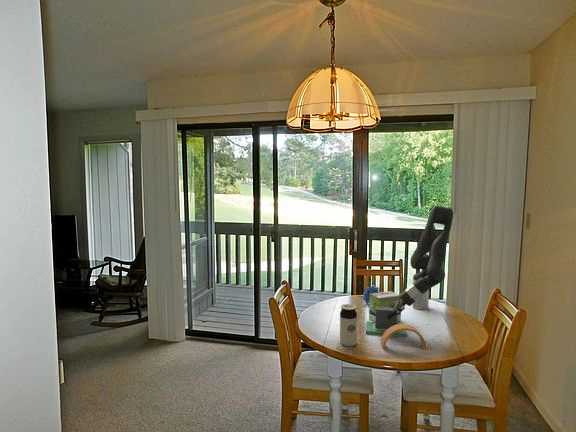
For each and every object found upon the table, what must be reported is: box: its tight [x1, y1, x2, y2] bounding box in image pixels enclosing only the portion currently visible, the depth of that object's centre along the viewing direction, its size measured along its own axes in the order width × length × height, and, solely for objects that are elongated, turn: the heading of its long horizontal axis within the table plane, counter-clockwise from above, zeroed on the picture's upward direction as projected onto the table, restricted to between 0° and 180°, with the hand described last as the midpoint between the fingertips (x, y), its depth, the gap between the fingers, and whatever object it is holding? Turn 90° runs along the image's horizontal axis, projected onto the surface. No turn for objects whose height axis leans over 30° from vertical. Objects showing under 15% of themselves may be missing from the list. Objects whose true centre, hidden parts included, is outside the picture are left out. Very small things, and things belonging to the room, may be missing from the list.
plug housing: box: [375, 307, 398, 329], centre depth 197 cm, size 5×10×10 cm, turn 77°
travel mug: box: [339, 303, 358, 347], centre depth 182 cm, size 8×8×18 cm
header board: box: [365, 321, 408, 338], centre depth 198 cm, size 14×20×4 cm
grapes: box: [362, 284, 381, 305], centre depth 243 cm, size 12×7×12 cm, turn 104°
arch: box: [380, 323, 428, 350], centre depth 178 cm, size 6×20×10 cm, turn 86°
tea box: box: [368, 290, 402, 322], centre depth 213 cm, size 15×10×15 cm
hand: (387, 315), depth 197 cm, fingers open, 8 cm apart
